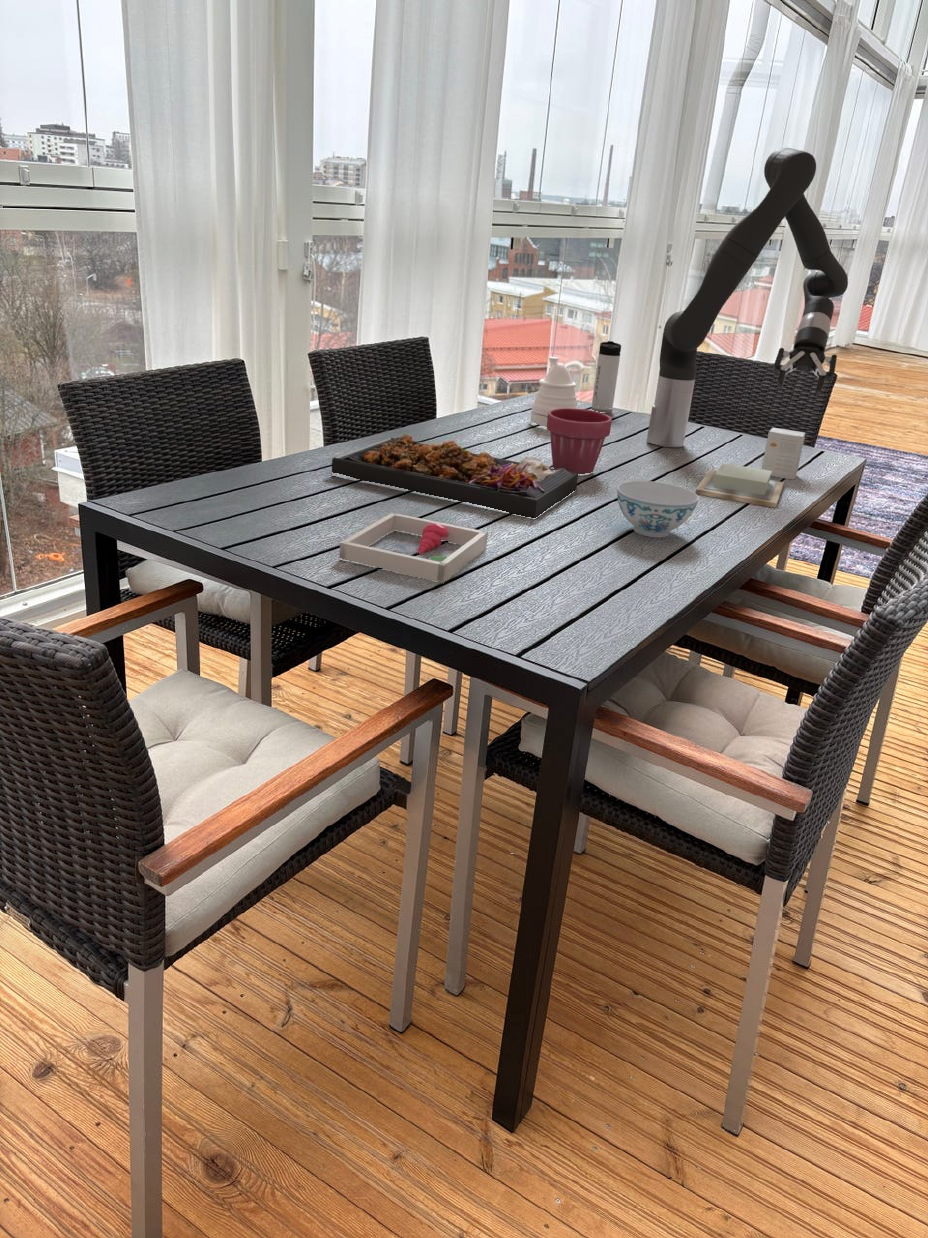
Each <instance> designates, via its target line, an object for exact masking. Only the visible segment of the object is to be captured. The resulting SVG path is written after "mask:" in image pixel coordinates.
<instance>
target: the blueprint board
mask: <svg viewBox="0 0 928 1238" xmlns="http://www.w3.org/2000/svg"><path fill="white" fill-rule="evenodd" d="M717 471H718V470H713V469H709V470H708V471H707V473H706V474H705V476H704V477H703V479H702V480H701V481H700V482H699V485H697V487H696V488H695V492H694V493H696V494H697V495H701V496H707V497H710V498H711V497H712V498H718V499H723V500H724V499H725V500H728V501H734V502H740V503H747V504H752V505H758V506H762V507H767V508H768V507H769V508H773V509H775V508H776V509H777V505H778V502H779V499H780V497H781V494H782V491H783V488H784V485H785V482H783V481H778V480H773V479H770V482H769V485H768V487H767V490H766V492H765V495H758V494H753V493H747V492H741V491H736V490H730V489H724V488H718V487H713V483H714V478H715V474H716V472H717Z"/></svg>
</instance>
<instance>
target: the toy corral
mask: <svg viewBox="0 0 928 1238" xmlns="http://www.w3.org/2000/svg"><path fill="white" fill-rule="evenodd" d="M431 523H437V524H441V525H443V526H444V527H445V528H446V529H447V531H448V533H449V536H448V537H440V538H441V540H445V541H448V542H452V543H456V544H461V545H463V546H461V545H460V547H459V548H458V549H457V550H455V551H454V552H452V553H451V554H449V555H448V556H446V557H447V558H446V559H445V560H443V561H442V562H437V561H433V560H428V559H427V558H423V557H418V556H414V555H409V554H406V553H398V552H393V551H390V550H386V549H383V548H382V549H381V548H378V547H372V546H370V547H369V546H368V545H370V544H372V543H373V542H375V541H376V540H378V539H379V538H381V537H382V536H384V535H386V534H387V533H389V532H390V531H393V530H398V531H405V532H409V533H414V534H418V535H422V533H423V529H424V528H425V527H426V526H427V525H429V524H431ZM488 534H489V532H488V531H485V530H484V531H483V530H480V529H479V530H478V529H473V528H469V527H464V526H460V525H455V524H450V523H444V522H441V521H435V520H429V519H424V518H420V517H416V516H410V515H405V514H401V513H395V512H390V513H389V514H387V515H385V516H383V517H382V518H380V519H378V520H377V521H375V522H373V523H372V524H370V525H368V526H366V527H365V528H363V529H361V530H360V531H358V532H356V533H354V534H352V535H351V536H349V537H347V538H345V539H344V540H342V541H341V542H339V558H342V559H345V560H349V561H355V562H359V563H363V564H368V565H371V566H375V567H379V568H383V569H387V570H390V571H395V572H399V573H402V574H403V573H404V574H407V575H411V576H415V577H420V578H423V579H422V580H424V579H428V580H427V581H429V580H433V581H438V582H441V583H440V584H442V583H443V584H445V583H446V582H447V581H448V580H449V579H451V578H452V577H453V576H454V575H456V574H457V573H458V572H459V571H461V570H462V569H463V568H464V567H466V566H467V565H468V564H469V563H470V562H469V561H471V562H472V561H473V560H474V559H476V558H477V557H478V556H480V555H481V554H482V553H483V552H484V551H486V550H487V545H488ZM456 544H455V545H456ZM481 552H482V553H481ZM475 557H476V558H475ZM339 558H338V559H339ZM468 562H469V563H468ZM467 563H468V564H467ZM466 564H467V565H466ZM465 565H466V566H465ZM463 566H464V567H463ZM462 567H463V568H462ZM461 568H462V569H461ZM460 569H461V570H460ZM458 570H459V571H458ZM457 571H458V572H457ZM456 572H457V573H456ZM455 573H456V574H455ZM402 574H401V575H402ZM453 574H454V575H453ZM452 575H453V576H452ZM411 576H410V577H411ZM451 576H452V577H451ZM415 577H414V578H415ZM450 577H451V578H450ZM420 578H419V579H420ZM448 578H449V579H448ZM447 579H448V580H447ZM446 580H447V581H446ZM433 581H432V582H433ZM445 581H446V582H445ZM444 582H445V583H444Z"/></svg>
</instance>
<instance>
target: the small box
mask: <svg viewBox="0 0 928 1238" xmlns="http://www.w3.org/2000/svg"><path fill="white" fill-rule="evenodd" d="M805 437H806V432H804V431H797V430H790V429H785V428H777V427H771V429H770V430H769V431H768V434H767V439H766V443H765V450H764V453H763V454H764V455H763V459H762V463H761V464H762V465H761V469H762V470H769V471H772V473H771V477H774V476H775V477H774V478H781V479H787V480H791V481H792V480H795V478H796V476H797V474H798V471H799V466H800V460H801V457H802V452H803V447H804V442H805Z"/></svg>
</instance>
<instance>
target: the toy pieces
mask: <svg viewBox="0 0 928 1238" xmlns="http://www.w3.org/2000/svg"><path fill="white" fill-rule="evenodd" d="M448 536H449V533H448V531H447V529H446V528H445V527H444V526H443V525H441V524H437V523H431V524H429V525H427V526H426V527H425V528H424V529H423V533H422V537H420V541H419V545H418V551H417V554H418V553H419V554H421V555H423V554H422V553H424V552H426V553H428V552H430V551H433V550H435V549H436V548H435V547H438V548H439V547H440V546H441V545H442V541H441V538H440V537H448ZM409 546H410V545H408V546H400V547H399V548H400V549H401V548H402V549H404V550H407V549H410V548H411V547H409ZM397 548H398V547H397ZM430 549H431V550H430ZM432 549H433V550H432ZM427 551H428V552H427ZM424 554H425V553H424ZM443 556H444V555H435V556H434V555H433V557H432V556H429V557H430V558H431V560H434V561H443V560H445V559H446V558H447V557H448V556H445V557H443Z"/></svg>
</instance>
